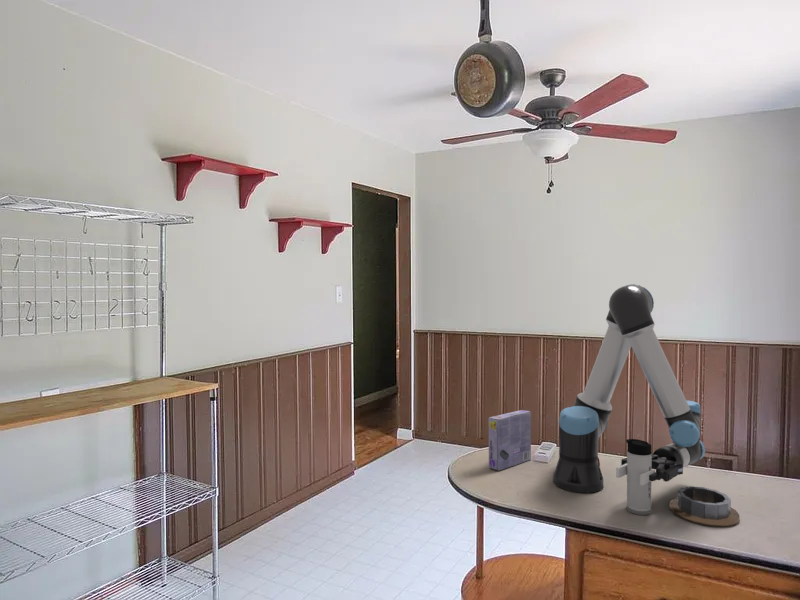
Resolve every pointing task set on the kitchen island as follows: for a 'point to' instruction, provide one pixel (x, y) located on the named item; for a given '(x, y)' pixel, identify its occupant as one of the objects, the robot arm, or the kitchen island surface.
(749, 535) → the kitchen island surface
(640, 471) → the travel mug
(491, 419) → the cake pan box
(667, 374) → the robot arm
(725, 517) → the ring collar
